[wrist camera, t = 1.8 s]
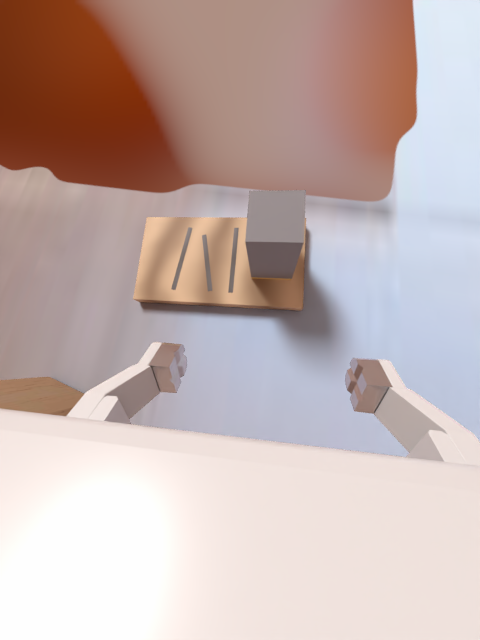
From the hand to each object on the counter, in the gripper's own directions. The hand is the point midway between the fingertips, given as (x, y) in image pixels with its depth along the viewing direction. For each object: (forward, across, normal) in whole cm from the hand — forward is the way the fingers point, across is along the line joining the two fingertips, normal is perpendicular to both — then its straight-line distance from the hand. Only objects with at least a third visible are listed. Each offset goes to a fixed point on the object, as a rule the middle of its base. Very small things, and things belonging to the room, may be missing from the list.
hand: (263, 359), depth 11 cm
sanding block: (+20, 0, +2) cm, 20 cm away
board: (+21, +6, +3) cm, 22 cm away
